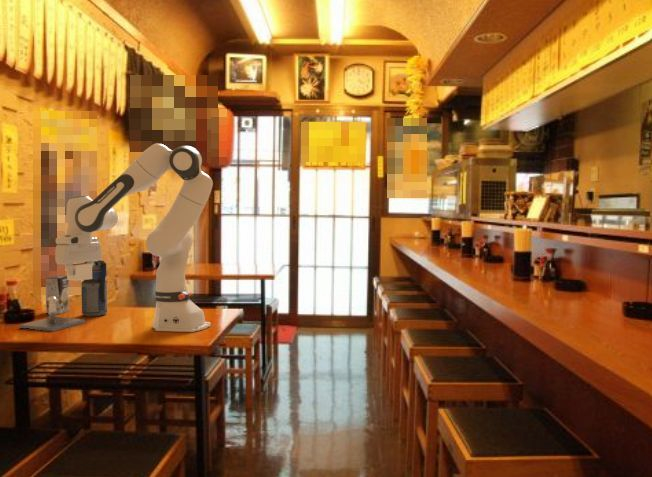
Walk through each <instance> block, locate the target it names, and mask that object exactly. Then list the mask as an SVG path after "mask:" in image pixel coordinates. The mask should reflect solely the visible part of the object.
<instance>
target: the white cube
mask: <svg viewBox="0 0 652 477" xmlns="http://www.w3.org/2000/svg"><path fill="white" fill-rule="evenodd" d="M71 267H72V269H73V271H75V275H72V276H70V275H68V270H67V269H66V276H67V280H69V281H75V282H78V281H84V280H88V279H92V264H88V263H84V262H81V263H73V266H71Z"/></svg>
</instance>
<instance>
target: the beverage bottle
mask: <svg viewBox="0 0 652 477" xmlns="http://www.w3.org/2000/svg"><path fill="white" fill-rule="evenodd" d="M83 263H87V262H83ZM107 276H108V270H107V263H106V261H105V260H102V259H101V260H97V261H94V265H93V267H92V279H88V280H81V283H80V287H81V288H80V289H81V290H80V293H81V314H82V315H83V316H85V317H87V318H88V317H91V318H94V317H101V316H104V315H107V312H108V281H107V280H106V278H107Z"/></svg>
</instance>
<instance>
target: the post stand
mask: <svg viewBox="0 0 652 477" xmlns="http://www.w3.org/2000/svg"><path fill="white" fill-rule="evenodd" d="M47 301H49V314H48V315H49V316H48V317H47V318H42V319H38V320H35V321H30V322H26V323H21V324H19V329H20V328H29V329H35V330H34V331H40V330H43V331H42V332H50V331H51V333H52V332H57V331H60V330H64V329H68V328H70V327H75V326H78V325H82V324H85V322H86V321H85V319H84V318H75V317H74V318H73V317H60V316H57V314H56V301H58V298H56V297H49V298H47ZM29 329H28V330H29Z"/></svg>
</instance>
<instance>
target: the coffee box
mask: <svg viewBox="0 0 652 477" xmlns="http://www.w3.org/2000/svg"><path fill="white" fill-rule="evenodd" d="M69 281H70V280H67V275H55V276H51V277H46V278H45V290H46V291H45V304H46V305H45V308H46V309H45V311H46V312H45V314H46V313H48V314H47V315H49V301H47V298H49V297H56V298H58V301H56V315H61V314H64V313H65V312H68V311H70V299H69V297H70V294H69V293H70V292H69V291H70V288H69V284H70V283H69Z"/></svg>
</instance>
